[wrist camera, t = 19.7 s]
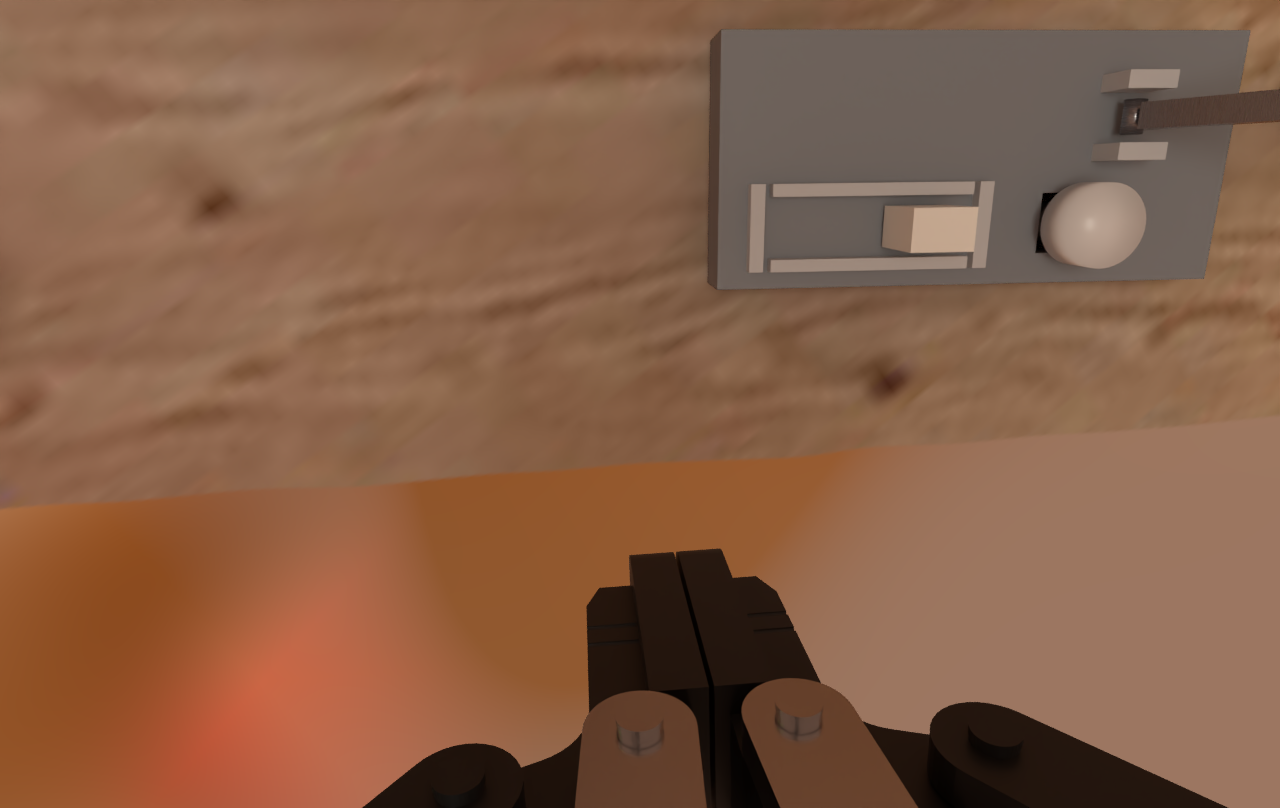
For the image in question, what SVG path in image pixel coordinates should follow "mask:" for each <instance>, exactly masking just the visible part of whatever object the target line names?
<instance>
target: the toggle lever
mask: <svg viewBox="0 0 1280 808" xmlns="http://www.w3.org/2000/svg"><path fill="white" fill-rule="evenodd" d="M1268 122H1280V89H1279V90H1268V91H1257V92H1246V93H1235V94H1224V95H1213V96H1202V97H1192V98H1181V99H1170V100H1159V101H1149V98H1135V99H1126V100H1124V106H1123V113H1122V120H1121V126H1120V133H1119V135H1141V134H1143V133H1144V129H1148V130H1154V129H1170V128H1187V127H1203V126H1219V125H1235V124H1252V123H1268Z"/></svg>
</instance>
